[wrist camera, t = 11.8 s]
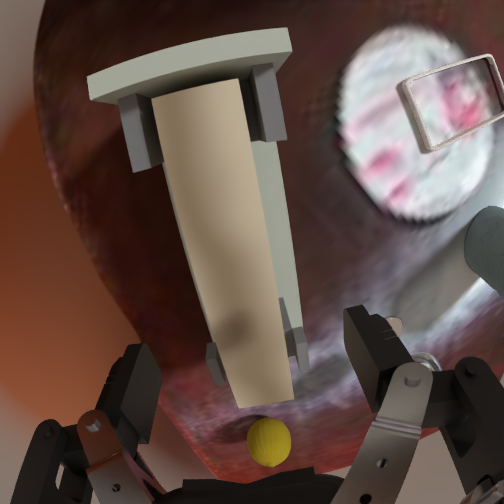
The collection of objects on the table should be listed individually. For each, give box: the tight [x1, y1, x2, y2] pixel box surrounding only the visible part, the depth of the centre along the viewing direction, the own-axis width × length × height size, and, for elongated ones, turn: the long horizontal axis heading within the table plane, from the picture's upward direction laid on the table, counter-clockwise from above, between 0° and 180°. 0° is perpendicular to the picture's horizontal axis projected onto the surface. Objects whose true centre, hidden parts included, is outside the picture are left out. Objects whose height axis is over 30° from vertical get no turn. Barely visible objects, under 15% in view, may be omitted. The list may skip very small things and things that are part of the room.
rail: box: [151, 78, 294, 408], centre depth 18 cm, size 4×20×5 cm, turn 11°
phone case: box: [401, 54, 504, 151], centre depth 22 cm, size 7×1×15 cm
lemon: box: [247, 417, 291, 467], centre depth 33 cm, size 6×6×8 cm
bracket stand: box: [87, 28, 310, 386], centre depth 20 cm, size 9×24×12 cm, turn 10°
